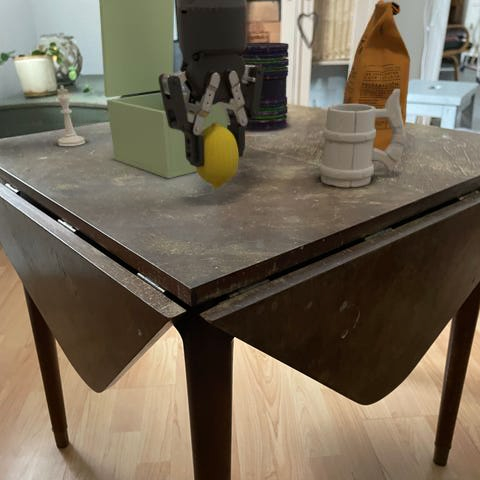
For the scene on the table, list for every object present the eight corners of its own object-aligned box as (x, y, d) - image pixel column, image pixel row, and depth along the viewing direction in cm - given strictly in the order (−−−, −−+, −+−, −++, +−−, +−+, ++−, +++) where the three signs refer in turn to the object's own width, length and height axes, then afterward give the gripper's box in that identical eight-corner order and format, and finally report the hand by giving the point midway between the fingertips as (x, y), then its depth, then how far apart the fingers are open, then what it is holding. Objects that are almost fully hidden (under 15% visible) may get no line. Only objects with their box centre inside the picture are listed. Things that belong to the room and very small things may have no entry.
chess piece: (63, 140, 103) (52, 83, 98) (88, 140, 103) (79, 83, 98) (54, 146, 99) (43, 87, 94) (80, 146, 99) (71, 87, 93)
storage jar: (251, 120, 116) (251, 42, 109) (294, 123, 112) (296, 42, 105) (230, 129, 109) (228, 46, 101) (275, 132, 105) (277, 47, 97)
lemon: (186, 187, 69) (183, 122, 65) (220, 179, 72) (219, 116, 68) (213, 198, 65) (210, 129, 61) (247, 188, 68) (247, 123, 64)
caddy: (232, 162, 87) (231, 101, 82) (168, 178, 80) (162, 112, 75) (176, 146, 97) (171, 90, 92) (114, 159, 90) (106, 100, 85)
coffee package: (393, 143, 96) (411, -1, 85) (403, 161, 85) (425, 0, 74) (337, 142, 97) (347, 0, 86) (340, 160, 87) (352, 1, 75)
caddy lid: (174, -25, 82) (156, -30, 84) (100, -25, 75) (82, -31, 77) (172, 88, 92) (156, 80, 95) (107, 97, 85) (91, 88, 88)
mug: (313, 173, 80) (317, 87, 74) (390, 170, 81) (401, 84, 75) (324, 189, 74) (330, 95, 68) (408, 185, 75) (422, 92, 69)
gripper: (238, 1, 65) (239, 146, 73) (135, 3, 57) (150, 165, 65) (283, 2, 60) (278, 156, 69) (177, 4, 52) (187, 179, 60)
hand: (216, 160), depth 67 cm, fingers closed on lemon, 5 cm apart
